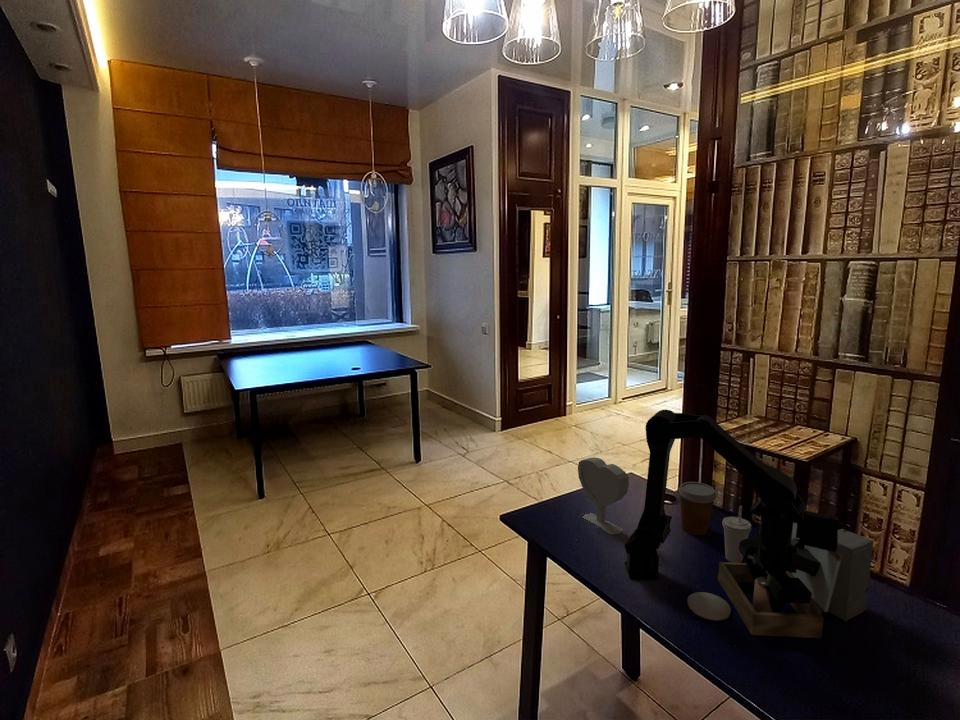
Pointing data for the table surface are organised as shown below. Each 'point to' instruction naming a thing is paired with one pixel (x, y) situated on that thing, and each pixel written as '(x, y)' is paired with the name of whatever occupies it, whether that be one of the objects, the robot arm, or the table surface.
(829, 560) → the grey angled plate
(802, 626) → the open wooden box frame
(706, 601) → the cream round disc
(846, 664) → the table surface
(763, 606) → the clay pot
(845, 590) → the skincare box
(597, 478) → the heart sculpture
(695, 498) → the disposable coffee cup
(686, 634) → the table surface
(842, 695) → the table surface
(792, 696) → the table surface
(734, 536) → the smoothie
